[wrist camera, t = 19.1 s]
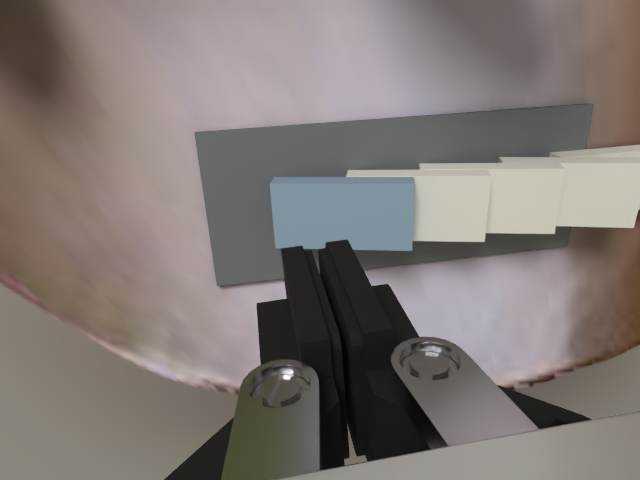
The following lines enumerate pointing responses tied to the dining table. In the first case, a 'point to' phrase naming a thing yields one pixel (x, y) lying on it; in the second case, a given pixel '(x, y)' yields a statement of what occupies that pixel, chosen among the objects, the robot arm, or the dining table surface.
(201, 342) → the dining table surface
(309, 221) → the domino placed
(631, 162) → the domino
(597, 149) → the domino
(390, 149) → the mat
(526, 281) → the dining table surface
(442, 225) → the domino
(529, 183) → the domino
